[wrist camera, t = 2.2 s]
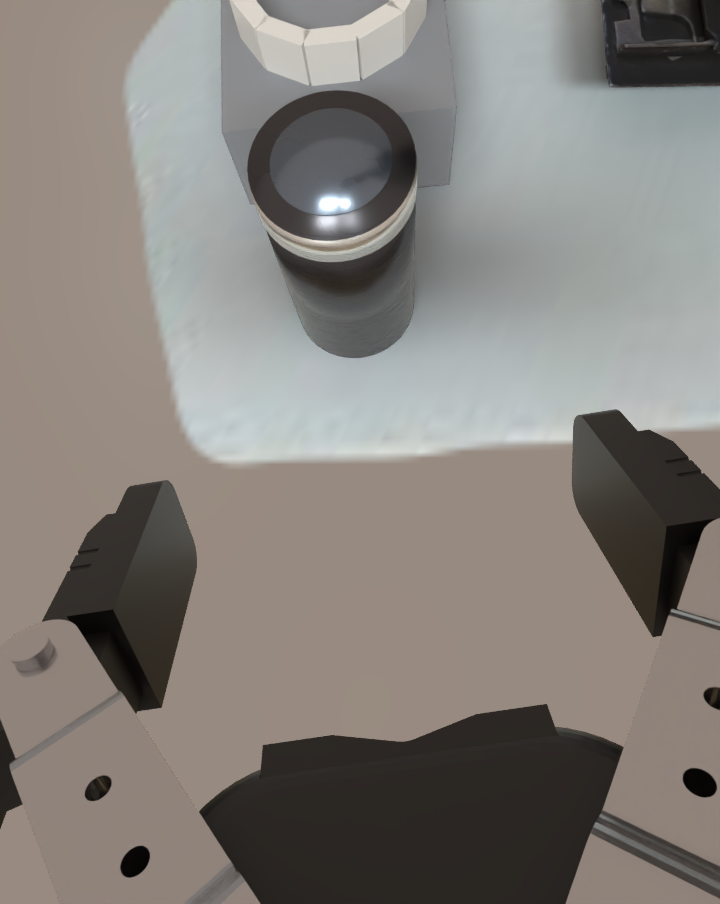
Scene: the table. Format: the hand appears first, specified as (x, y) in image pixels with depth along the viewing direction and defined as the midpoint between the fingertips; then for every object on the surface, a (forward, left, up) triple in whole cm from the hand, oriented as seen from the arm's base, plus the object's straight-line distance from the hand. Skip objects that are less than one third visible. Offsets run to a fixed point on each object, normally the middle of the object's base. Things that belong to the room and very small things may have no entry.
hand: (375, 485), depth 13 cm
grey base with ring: (+1, -24, -15) cm, 28 cm away
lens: (+1, -12, -15) cm, 19 cm away
